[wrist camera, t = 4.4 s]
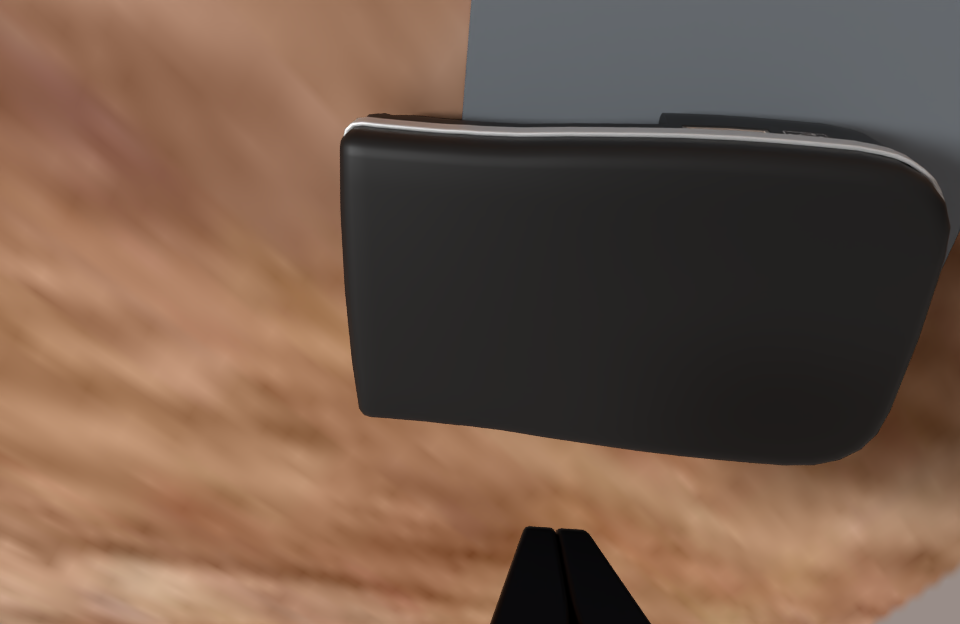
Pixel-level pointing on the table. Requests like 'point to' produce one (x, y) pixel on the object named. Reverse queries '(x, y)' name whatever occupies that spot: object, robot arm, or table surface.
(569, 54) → the gray mat
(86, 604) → the table surface
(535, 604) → the robot arm
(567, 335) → the battery charger
